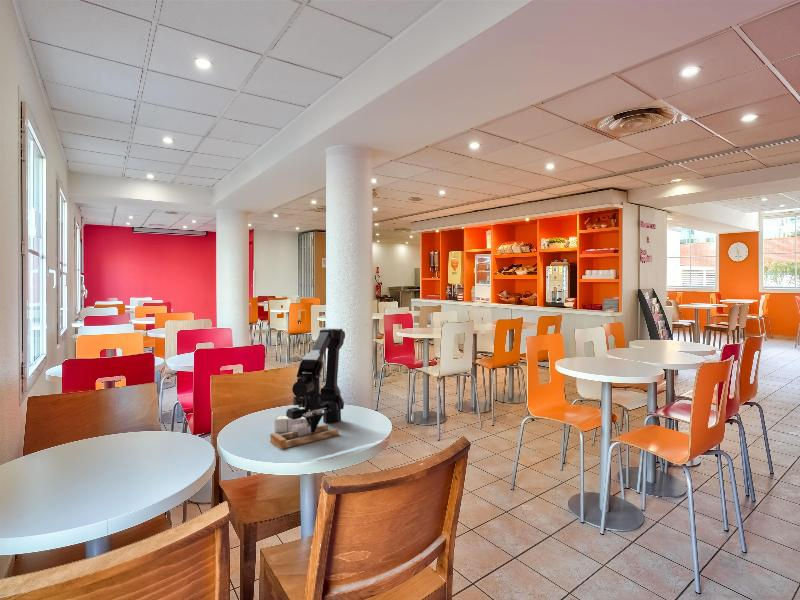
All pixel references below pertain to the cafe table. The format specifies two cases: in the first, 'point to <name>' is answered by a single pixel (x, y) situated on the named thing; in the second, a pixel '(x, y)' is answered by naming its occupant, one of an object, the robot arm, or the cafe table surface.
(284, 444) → the brown shallow tray
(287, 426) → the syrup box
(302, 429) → the grey pink cube
